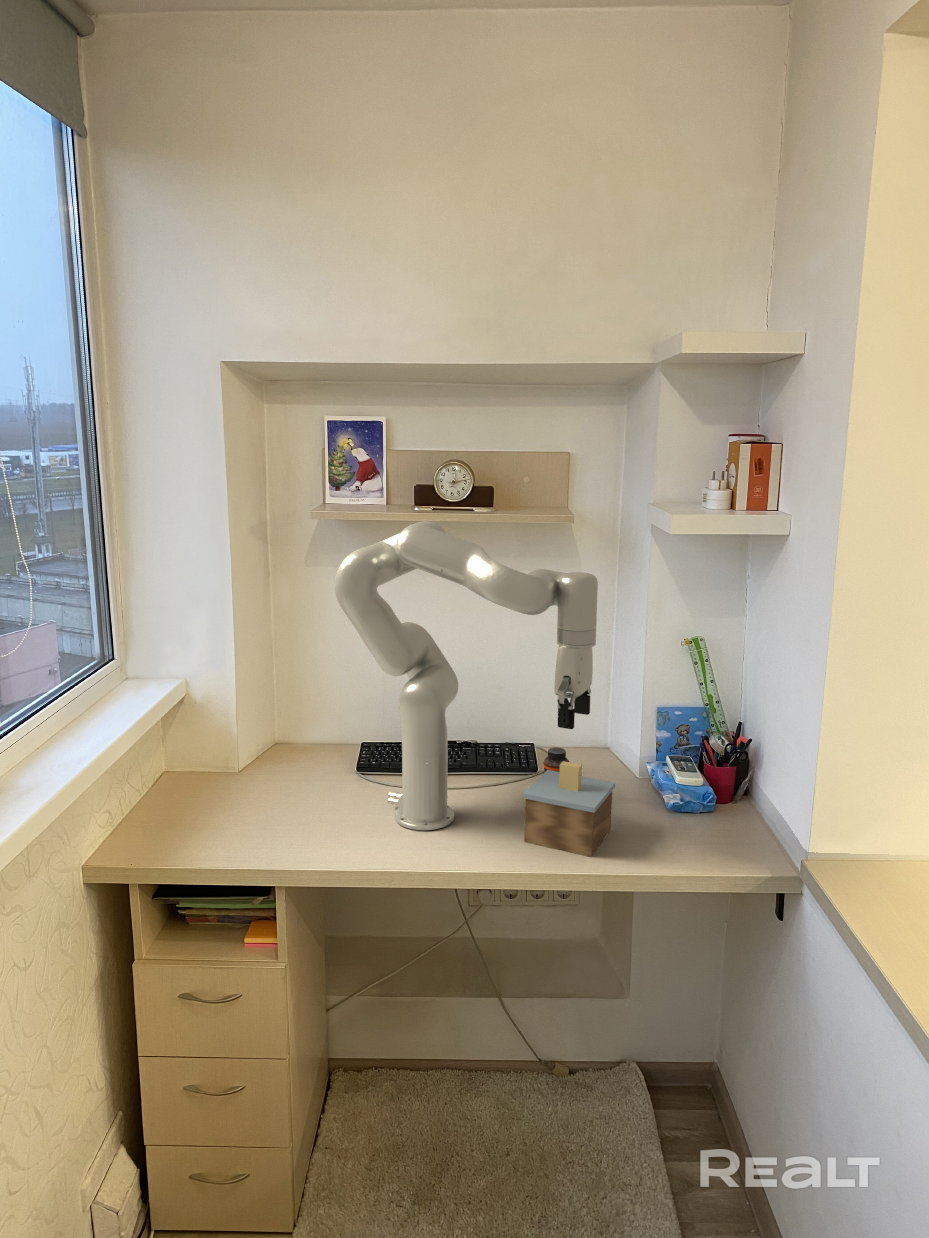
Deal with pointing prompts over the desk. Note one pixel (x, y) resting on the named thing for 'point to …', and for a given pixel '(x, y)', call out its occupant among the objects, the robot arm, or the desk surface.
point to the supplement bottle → (554, 759)
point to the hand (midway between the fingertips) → (574, 720)
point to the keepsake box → (567, 826)
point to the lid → (570, 788)
